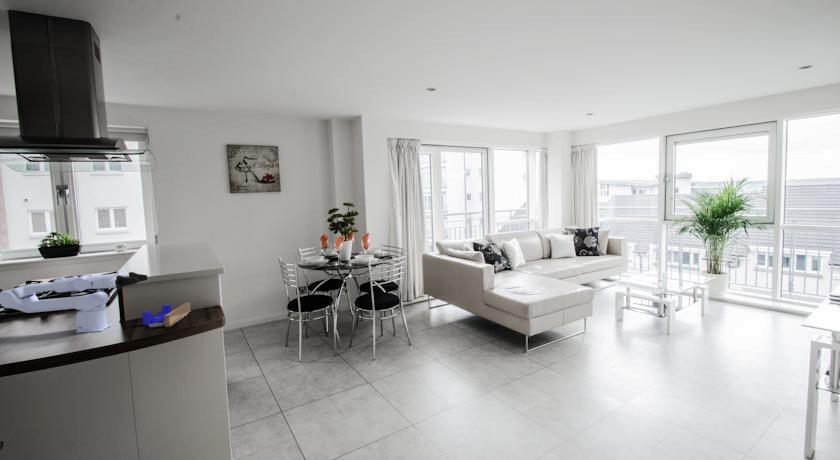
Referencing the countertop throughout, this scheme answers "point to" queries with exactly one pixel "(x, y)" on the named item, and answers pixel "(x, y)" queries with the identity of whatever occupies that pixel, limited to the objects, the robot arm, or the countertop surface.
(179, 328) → the countertop surface
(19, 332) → the countertop surface
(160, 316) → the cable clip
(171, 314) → the backboard
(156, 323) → the mounting rail
